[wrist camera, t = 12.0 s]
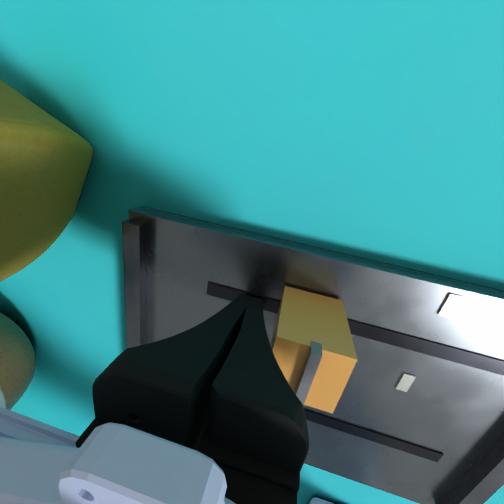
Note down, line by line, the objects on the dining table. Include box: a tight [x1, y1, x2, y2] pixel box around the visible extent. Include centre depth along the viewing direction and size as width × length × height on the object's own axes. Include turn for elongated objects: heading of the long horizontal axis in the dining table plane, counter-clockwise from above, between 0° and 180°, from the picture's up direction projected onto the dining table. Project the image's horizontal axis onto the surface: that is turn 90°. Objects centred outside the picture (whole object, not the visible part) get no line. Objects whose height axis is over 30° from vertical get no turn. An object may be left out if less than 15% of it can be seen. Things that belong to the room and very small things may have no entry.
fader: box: [271, 286, 358, 414], centre depth 11 cm, size 3×3×4 cm
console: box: [122, 207, 504, 504], centre depth 15 cm, size 16×24×2 cm, turn 80°
